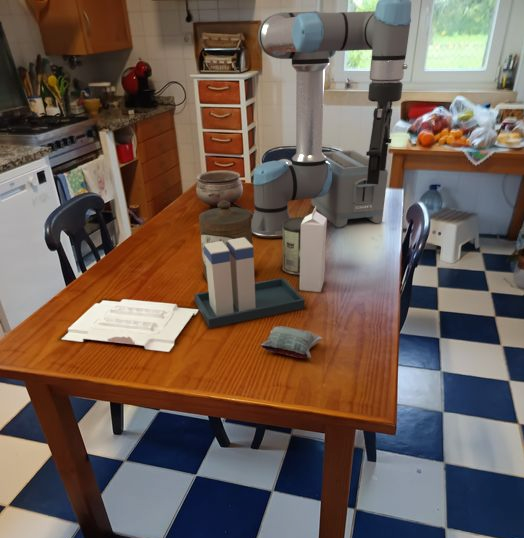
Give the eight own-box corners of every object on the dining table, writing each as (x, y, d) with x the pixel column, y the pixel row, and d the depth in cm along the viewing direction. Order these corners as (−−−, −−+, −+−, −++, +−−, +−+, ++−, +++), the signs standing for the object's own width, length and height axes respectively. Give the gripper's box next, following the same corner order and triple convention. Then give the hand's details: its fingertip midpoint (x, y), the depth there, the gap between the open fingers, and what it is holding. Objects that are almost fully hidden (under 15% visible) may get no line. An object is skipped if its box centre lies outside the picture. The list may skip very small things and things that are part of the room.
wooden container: (195, 281, 141) (187, 206, 129) (217, 262, 152) (211, 191, 140) (243, 288, 136) (239, 211, 124) (261, 268, 148) (259, 195, 136)
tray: (195, 302, 130) (194, 294, 129) (282, 285, 137) (282, 277, 136) (209, 328, 119) (208, 319, 117) (304, 308, 126) (304, 299, 125)
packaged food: (274, 335, 115) (274, 317, 113) (322, 345, 111) (323, 326, 108) (259, 354, 109) (258, 336, 106) (309, 366, 105) (310, 347, 102)
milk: (299, 290, 135) (300, 212, 123) (303, 281, 140) (304, 205, 127) (321, 292, 133) (324, 213, 121) (324, 282, 138) (327, 205, 126)
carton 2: (231, 300, 129) (227, 239, 120) (247, 297, 131) (244, 237, 121) (239, 311, 124) (235, 249, 115) (255, 308, 125) (253, 246, 116)
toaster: (339, 232, 172) (343, 172, 161) (310, 204, 199) (311, 152, 188) (387, 226, 176) (394, 167, 164) (352, 200, 203) (356, 148, 191)
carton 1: (209, 305, 128) (203, 243, 118) (226, 301, 129) (221, 240, 120) (216, 316, 122) (210, 253, 113) (233, 313, 124) (229, 250, 114)
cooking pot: (237, 216, 189) (235, 184, 183) (190, 215, 192) (187, 183, 185) (248, 197, 210) (247, 168, 203) (205, 196, 213) (203, 168, 206)
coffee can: (317, 262, 151) (319, 217, 143) (314, 276, 142) (315, 229, 134) (285, 260, 152) (285, 216, 145) (279, 274, 144) (279, 228, 136)
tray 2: (102, 300, 133) (100, 288, 131) (199, 312, 128) (198, 300, 126) (60, 339, 116) (56, 326, 114) (170, 355, 111) (168, 342, 109)
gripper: (397, 87, 100) (385, 191, 112) (407, 76, 120) (396, 165, 132) (360, 87, 102) (353, 189, 114) (377, 76, 122) (368, 164, 134)
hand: (376, 176), depth 123 cm, fingers open, 13 cm apart
